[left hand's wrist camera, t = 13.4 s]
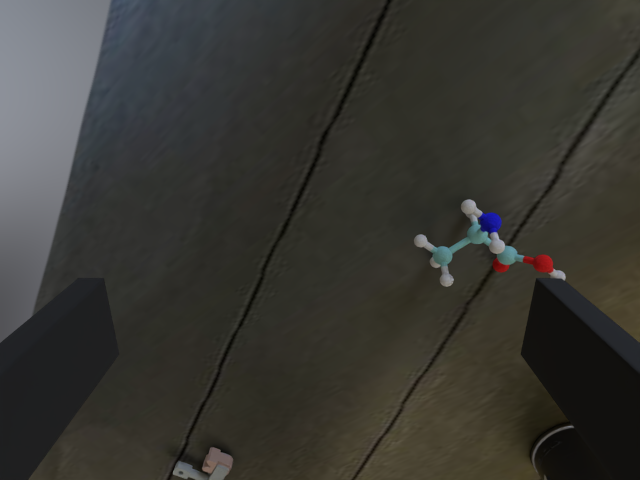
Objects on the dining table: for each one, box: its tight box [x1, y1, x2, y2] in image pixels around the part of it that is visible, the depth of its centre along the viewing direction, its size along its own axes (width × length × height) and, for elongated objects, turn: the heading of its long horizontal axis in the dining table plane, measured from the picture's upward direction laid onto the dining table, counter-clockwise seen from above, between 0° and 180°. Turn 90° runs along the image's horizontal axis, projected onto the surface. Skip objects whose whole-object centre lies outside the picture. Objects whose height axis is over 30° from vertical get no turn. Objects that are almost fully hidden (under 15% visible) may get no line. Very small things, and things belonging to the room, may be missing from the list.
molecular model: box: [414, 200, 566, 287], centre depth 39 cm, size 12×10×10 cm
